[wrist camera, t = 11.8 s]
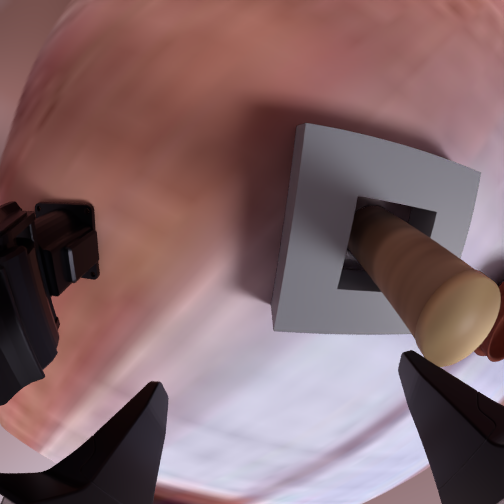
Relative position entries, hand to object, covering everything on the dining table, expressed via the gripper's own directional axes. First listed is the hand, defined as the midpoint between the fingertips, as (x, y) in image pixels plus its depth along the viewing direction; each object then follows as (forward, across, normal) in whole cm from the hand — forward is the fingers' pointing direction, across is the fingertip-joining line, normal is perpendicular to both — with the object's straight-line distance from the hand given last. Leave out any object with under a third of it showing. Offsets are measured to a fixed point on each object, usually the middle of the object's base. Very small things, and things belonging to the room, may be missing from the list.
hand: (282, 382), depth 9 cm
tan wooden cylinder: (+13, -8, 0) cm, 15 cm away
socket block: (+13, -8, 0) cm, 15 cm away
